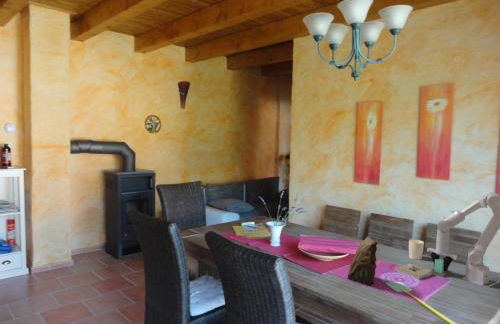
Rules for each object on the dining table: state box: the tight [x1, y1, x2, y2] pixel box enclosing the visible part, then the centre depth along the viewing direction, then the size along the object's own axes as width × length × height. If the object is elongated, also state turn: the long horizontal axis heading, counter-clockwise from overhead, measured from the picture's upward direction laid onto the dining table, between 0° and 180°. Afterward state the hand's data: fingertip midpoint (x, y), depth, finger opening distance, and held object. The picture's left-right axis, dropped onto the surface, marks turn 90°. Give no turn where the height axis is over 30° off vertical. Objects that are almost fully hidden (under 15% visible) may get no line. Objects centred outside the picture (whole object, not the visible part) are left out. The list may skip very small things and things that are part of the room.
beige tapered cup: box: [408, 239, 425, 260], centre depth 208 cm, size 8×8×10 cm
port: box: [396, 263, 433, 280], centre depth 184 cm, size 12×12×3 cm
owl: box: [346, 235, 378, 287], centre depth 172 cm, size 13×13×20 cm
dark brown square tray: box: [430, 268, 455, 279], centre depth 185 cm, size 9×9×2 cm
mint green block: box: [433, 257, 447, 274], centre depth 184 cm, size 4×5×7 cm
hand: (440, 269), depth 184 cm, fingers open, 4 cm apart
